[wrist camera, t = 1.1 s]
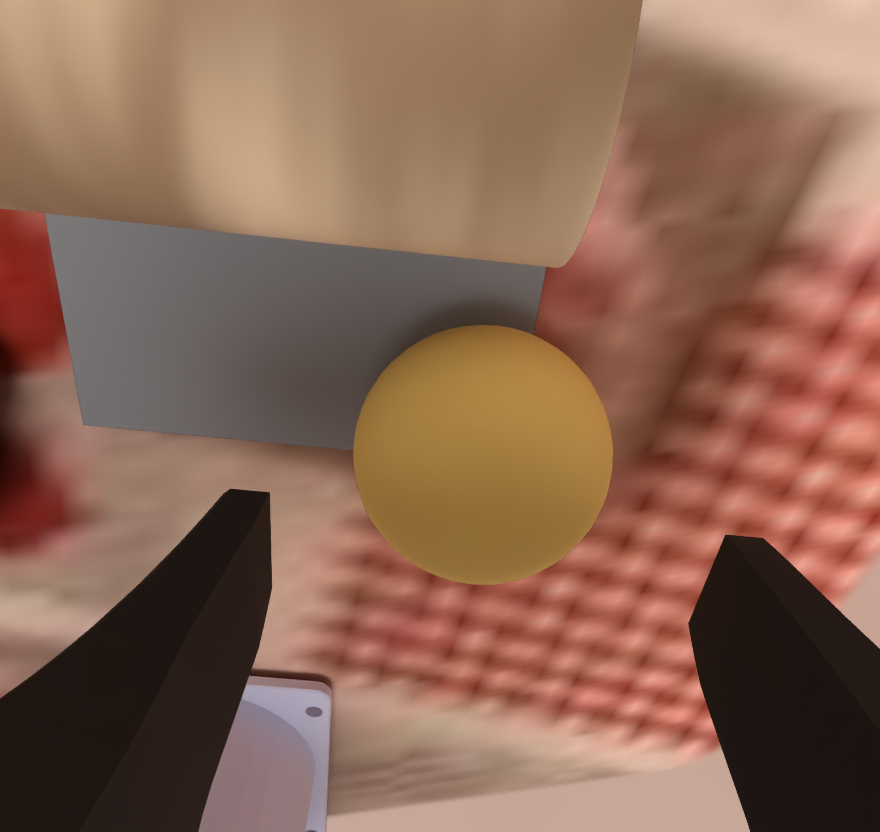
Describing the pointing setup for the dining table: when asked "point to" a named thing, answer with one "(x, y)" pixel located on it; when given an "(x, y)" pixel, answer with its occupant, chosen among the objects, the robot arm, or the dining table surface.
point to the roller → (320, 118)
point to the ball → (483, 454)
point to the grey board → (256, 325)
